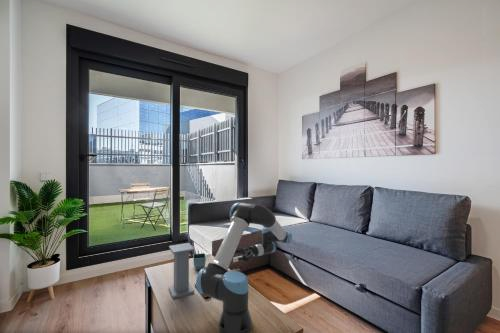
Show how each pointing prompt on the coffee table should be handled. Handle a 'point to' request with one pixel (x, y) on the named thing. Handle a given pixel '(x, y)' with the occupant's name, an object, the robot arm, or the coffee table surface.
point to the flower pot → (199, 261)
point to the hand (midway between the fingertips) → (228, 256)
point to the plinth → (181, 270)
